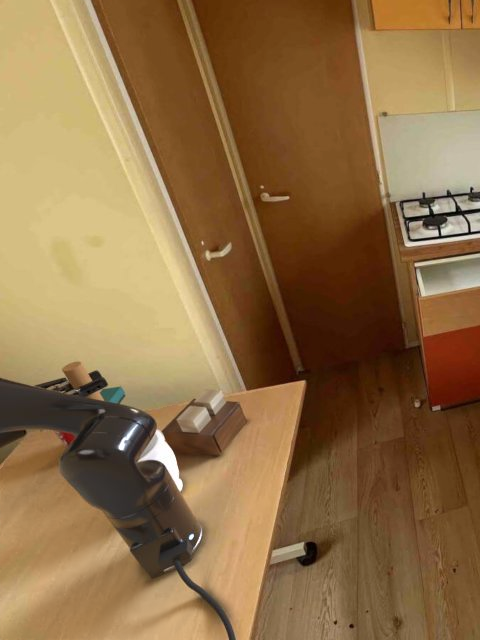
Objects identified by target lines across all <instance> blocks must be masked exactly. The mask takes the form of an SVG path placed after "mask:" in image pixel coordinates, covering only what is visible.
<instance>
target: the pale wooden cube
mask: <svg viewBox="0 0 480 640" xmlns="http://www.w3.org/2000/svg"><path fill="white" fill-rule="evenodd" d="M176 420H177V422H178V424H179V426H180V428H181V429H182V431H183V432H192V433H199V432H200V431H201V430H202V429H203V428H204V427H205V426H206V425H207V423H208V422H209V421H210V420H211V417H210V415H209V413H208V411H207V409H206V407H197V406H189V407H188V408H187V409H186V410H185V411H184V412H183V413H182V414H181V415H180V416H179V417H178V418H177V419H176Z"/></svg>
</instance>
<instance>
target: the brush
mask: <svg viewBox="0 0 480 640" xmlns="http://www.w3.org/2000/svg"><path fill="white" fill-rule="evenodd" d="M61 371H62V373H63V374H64V376H65V378H66V379H67V380H69V382H70V383H71V385H72V387H73V388H74V389H77V388H79V387H81V386H83V385H85V384H87V383H89V382H91V381H92V379H91V378H90V376H89V374H88V373H89V372H88V371H87V370H86V368H85V366H84V364H83V363H82V362H81V361H79V360H78V361H73V362H70V363H68V364H66V365H64V366H62V369H61ZM79 389H80V388H79ZM125 397H126V392H125V390H124V388H123V387H122V386H121V385H120V386H114V387H108V388H107V387H106V388H103V389H101V390H98V391H97V392H95V393H92V394H90V395H88V396H86V398H91V399H97V400H102V401H107V402H112V403H118V404H121V402H122V401H123V400H124V399H125ZM73 436H75V437H76V436H77V435H76V434H73Z"/></svg>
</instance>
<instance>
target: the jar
mask: <svg viewBox="0 0 480 640" xmlns="http://www.w3.org/2000/svg"><path fill="white" fill-rule="evenodd" d="M161 431H162V430H160V429H158V428H157V430H156V432H155V434H154V436H153V438H152V439H151V441H150V443H149V444H148V446H147V447H146V449H145V451H144V452H143V454H142V455H141V457H140V459H139V460H138V462H139V461H144V460H157V461H160V462H162V463H163V464H164V465H165V466H166V468H167V470H168V471H169V473H170V475H171V477H172V478H173V480H174V482H175V484H176V485H177V487H178V489H179V491H180V492H181V493H182V490H183V488H184V487H183V484H184V483H183V481H182V479H181V478H180V471H179V467H178V462H177V458H176V455H175V452H173V451H172V449H171V448H170V447H169V445H168V443H167V442H166V440H165V438H164V435H163V433H162V432H161Z"/></svg>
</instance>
